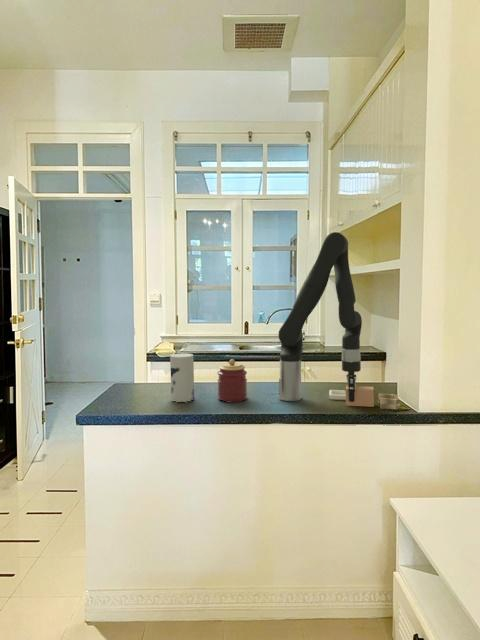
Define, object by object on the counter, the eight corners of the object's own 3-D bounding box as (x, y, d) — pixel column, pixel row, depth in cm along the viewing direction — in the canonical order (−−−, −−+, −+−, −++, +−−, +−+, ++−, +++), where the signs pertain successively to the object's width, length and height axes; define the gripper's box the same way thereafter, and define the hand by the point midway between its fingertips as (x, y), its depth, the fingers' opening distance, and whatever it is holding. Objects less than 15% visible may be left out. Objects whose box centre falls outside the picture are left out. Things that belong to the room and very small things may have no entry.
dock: (380, 408, 173) (380, 398, 172) (378, 403, 180) (378, 393, 180) (398, 409, 171) (398, 399, 171) (396, 403, 179) (396, 394, 178)
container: (166, 400, 188) (165, 355, 187) (184, 395, 196) (183, 352, 194) (181, 404, 182) (180, 357, 180) (198, 399, 189) (198, 354, 187)
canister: (219, 394, 196) (218, 356, 195) (247, 394, 196) (247, 356, 194) (216, 403, 183) (215, 362, 182) (247, 402, 183) (246, 362, 181)
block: (345, 405, 177) (345, 388, 177) (346, 402, 182) (346, 386, 181) (373, 406, 174) (373, 389, 174) (373, 403, 179) (373, 386, 178)
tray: (328, 399, 187) (329, 394, 186) (329, 394, 195) (329, 389, 195) (364, 401, 183) (364, 396, 183) (363, 395, 192) (363, 391, 192)
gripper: (341, 356, 185) (342, 394, 187) (341, 362, 171) (342, 404, 173) (359, 356, 183) (360, 395, 185) (361, 362, 170) (361, 404, 171)
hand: (351, 399), depth 179 cm, fingers closed on block, 5 cm apart
